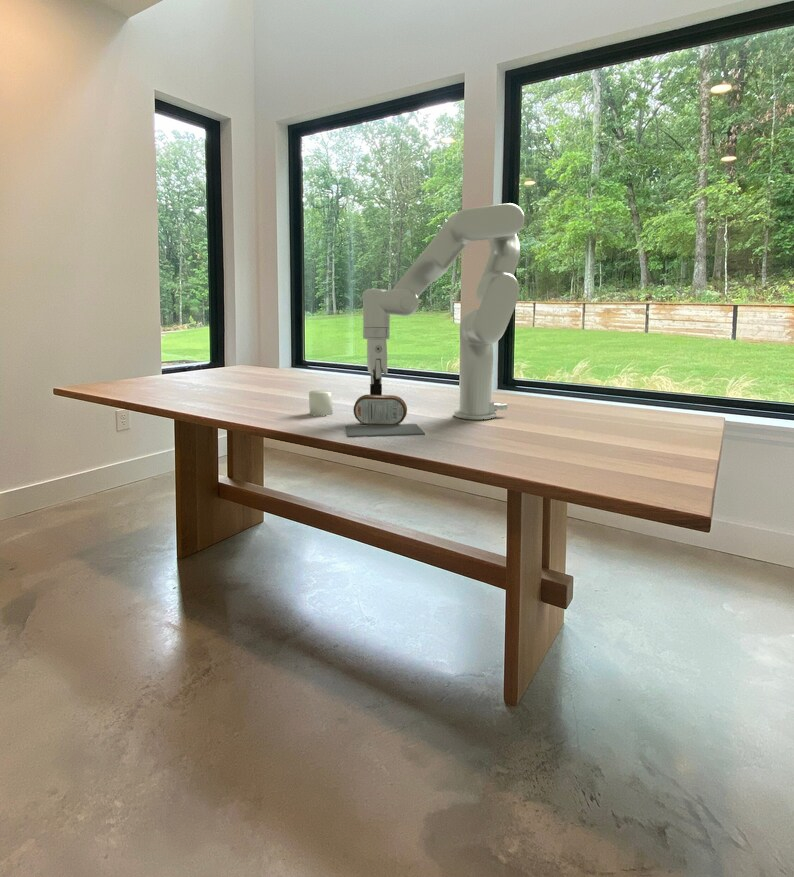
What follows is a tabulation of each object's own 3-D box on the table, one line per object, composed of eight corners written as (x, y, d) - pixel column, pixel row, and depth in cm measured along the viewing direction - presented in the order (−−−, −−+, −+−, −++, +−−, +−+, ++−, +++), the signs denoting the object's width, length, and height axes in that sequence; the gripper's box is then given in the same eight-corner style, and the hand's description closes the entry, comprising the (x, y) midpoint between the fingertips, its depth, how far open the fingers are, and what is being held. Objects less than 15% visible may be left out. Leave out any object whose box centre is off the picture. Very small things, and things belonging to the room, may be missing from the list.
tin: (407, 424, 167) (407, 394, 165) (406, 426, 164) (406, 396, 162) (354, 423, 169) (354, 393, 167) (352, 425, 166) (352, 395, 164)
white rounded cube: (332, 412, 185) (331, 389, 184) (333, 416, 179) (332, 393, 177) (309, 412, 184) (308, 390, 183) (309, 416, 178) (309, 393, 176)
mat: (416, 425, 166) (416, 423, 166) (424, 434, 154) (425, 433, 154) (345, 427, 163) (345, 425, 163) (348, 437, 151) (348, 435, 151)
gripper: (393, 335, 161) (392, 401, 165) (385, 332, 175) (385, 393, 180) (365, 335, 160) (365, 402, 164) (360, 332, 174) (360, 393, 178)
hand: (375, 397), depth 172 cm, fingers closed
